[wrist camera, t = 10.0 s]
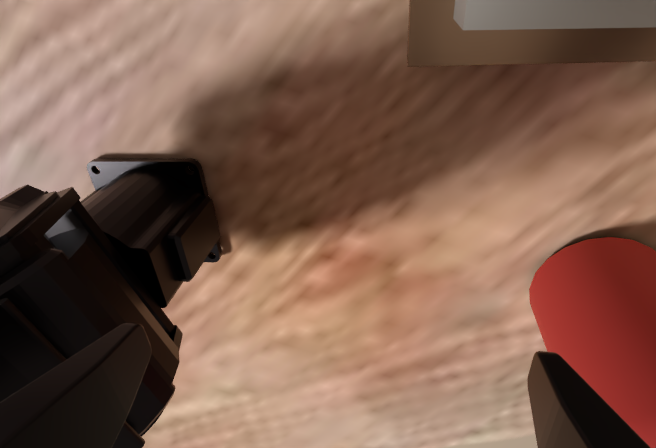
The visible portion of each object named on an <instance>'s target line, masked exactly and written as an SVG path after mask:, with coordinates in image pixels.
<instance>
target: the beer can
mask: <svg viewBox="0 0 656 448" xmlns="http://www.w3.org/2000/svg"><path fill="white" fill-rule="evenodd" d="M529 291H530V304H531V307H532V310H533V313H534V315H535V318H536V321H537V324H538V326H539V329H540V332H541V335H542V337H543V340H544V343H545V346H546V348H547V351H548V352H555V353H557V354H559V355H560V356H561V357H562V358H563V359H564V360H565V361H566V362H567V363H568V364H569V365H570V366H571V367H572V368H573V369H574V370H575V371H576V372H577V373H578V374H579V375H580V376H581V377H582V378H583V379H584V380H585V381H586V382H587V383H588V384H589V385H590V386H591V387H592V388H593V389H594V390H595V391H596V392H597V394H598V395H599V396H600V397H601V398H602V399H603V400H604V401H605V402H606V403H607V404H608V405H609V406H610V407H611V408H612V409H613V410H614V411H615V412H616V413H617V414H618V415H619V416H620V417H621V418H622V419H623V420H624V421H625V422H626V423H627V424H628V425H629V426H630V427H631V428H632V429H633V430H634V431H635V432H636V433H637V434H638V435H639V436H640V437H641V438H642V439H643V440H644V441H645V442H646V443H647V444H648V445H649V446H650V448H656V251H655V250H654V249H652V248H650V247H648V246H646V245H643V244H641V243H639V242H636V241H634V240H631V239H622V238H614V237H604V238H596V239H588V240H584V241H581V242H578V243H576V244H573V245H570V246H567V247H565V248H563V249H562V250H560V251H559V252H557V253H556V254H554V255H553V256H551V257H550V258H548V259H547V260H546V261H545V262H544V264H543V265H542V266H541V267H540V268H539V269H538V270H537V272H536V273H535V276H534V278H533V281H532V283H531V286H530V289H529Z"/></svg>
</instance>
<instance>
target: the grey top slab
mask: <svg viewBox="0 0 656 448" xmlns="http://www.w3.org/2000/svg"><path fill="white" fill-rule="evenodd" d="M453 19H454V20H455V21H456V23H457V24H458V25H459V26H460V27H461V29H462V30H517V29H582V28H646V27H656V0H455V7H454V16H453Z"/></svg>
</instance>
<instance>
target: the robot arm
mask: <svg viewBox="0 0 656 448" xmlns="http://www.w3.org/2000/svg"><path fill="white" fill-rule="evenodd" d="M96 166H97V167H98V168H99V169H100V171H99V170H98V169H97V168H96ZM188 166H191V167H192V168H193V169H194V172H193V171H191V170H189V168H188ZM87 170H88V173H89V175H90V178H91V180H92V183H93V185H94V188H95V190H96V191H94V192H93V193H92V194H90V195H89V196H88V197H86V198H85V199H84V200H82V201H81V202H80V201H79V199H80V196H79V195H78V194H77V192H76V191H75V190H74V188H73V187H70V188H68V189H65V190H62V191H60V192H56V191H54V192H51V193H48V192H47V191H45V192H44V191H41V190H39V189H37V188H34V187H32V186H29V185H26V186H23V187H21V188H18V189H16V190H15V191H13V192H11V193H10V194H8V195H6V196H5V197H3V198H1V199H0V448H142V447H143V446H144V444H145V440H144V439H143V438H142V437H141V436H142V435H144V434H145V433H146V432H147V431H148V430H149V429H150V428H151V427H152V425H153V424H154V423H155V422H156V421H157V419H158V418H159V417H160V415H161V414H162V412H163V410H164V409H165V407H166V406H167V404H168V402H169V401H170V399H171V398H172V396H173V394H174V391H175V386H174V385H173V379H174V376H175V373H176V370H177V367H178V364H179V349H180V344H181V339H182V332H181V331H180V329H179V328H178V327H177V326H176V325H173V324H172V322H171V321H170V320H169V318H168V317H167V316H166V314H165V313H164V312H163V310H162V309H161V308H165V307H166V306H167V305H168V303H169V302H170V300H171V299H172V298H173V296H174V295H175V293H176V292H177V290H178V289H179V287H180V286H181V284H182V283H183V281H185V282H189V281H190V280H191V279H192V278H193V277H194V276H195V274H196V273H197V271H198V270H199V268H200V266H201V265H202V263H203V262H217V261H218V260H219V259H220V257H221V255H222V250H221V246H220V242H219V238H220V231H219V227H218V223H217V218H216V214H215V210H214V206H213V201H212V199H211V198H210V197H209V196H208V192H207V187H206V183H205V179H204V175H203V171H202V167H201V165H200V163H199V162H198V161H196V160H195V159H94V160H92V161H91V162H89V163H88V164H87ZM211 252H213V253H214V254H215V255H213V254H211ZM528 391H529V397H530V403H531V409H532V415H533V421H534V427H535V433H536V439H537V445H538V448H650V446H649V445H648V444H647V443H646V442H645V441H644V440H643V439H642V438H641V437H640V436H639V435H638V434H637V433H636V432H635V431H634V430H633V429H632V428H631V427H630V426H629V425H628V424H627V423H626V422H625V421H624V420H623V419H622V418H621V417H620V416H619V415H618V414H617V413H616V412H615V411H614V410H613V409H612V408H611V407H610V406H609V405H608V404H607V403H606V402H605V401H604V400H603V399H602V398H601V397H600V396H599V395H598V394H597V392H596V391H595V390H594V389H593V388H592V387H591V386H590V385H589V384H588V383H587V382H586V381H585V380H584V379H583V378H582V377H581V376H580V375H579V374H578V373H577V372H576V371H575V370H574V369H573V368H572V367H571V366H570V365H569V364H568V363H567V362H566V361H565V360H564V359H563V358H562V357H561V356H560V355H559V354H557V353H555V352H543V351H538V352H536V353H535V354H534V357H533V360H532V364H531V368H530V371H529V375H528Z"/></svg>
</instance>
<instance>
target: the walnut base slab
mask: <svg viewBox="0 0 656 448" xmlns="http://www.w3.org/2000/svg"><path fill="white" fill-rule="evenodd" d="M454 7H455V0H410V5H409V29H408V52H407V60H408V67H419V66H463V65H506V64H549V63H592V62H635V61H656V27H646V28H582V29H517V30H462V29H461V27H460V26H459V25H458V24H457V23H456V21H455V20H454V19H453V16H454Z"/></svg>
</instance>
